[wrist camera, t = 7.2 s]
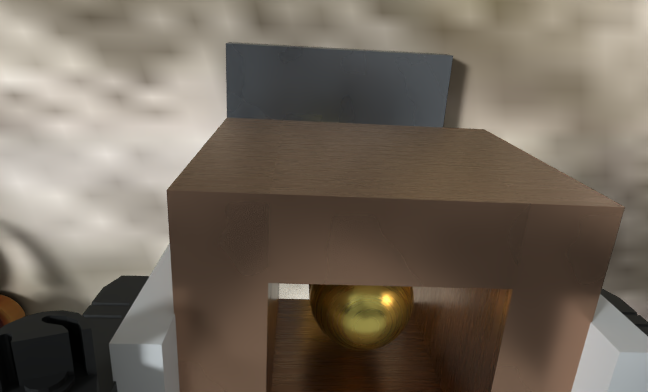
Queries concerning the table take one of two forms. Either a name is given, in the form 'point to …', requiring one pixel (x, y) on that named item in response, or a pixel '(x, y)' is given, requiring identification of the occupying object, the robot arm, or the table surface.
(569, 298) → the link
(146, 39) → the table surface
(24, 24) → the table surface
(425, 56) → the keeper
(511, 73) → the table surface
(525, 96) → the table surface
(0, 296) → the binoculars
